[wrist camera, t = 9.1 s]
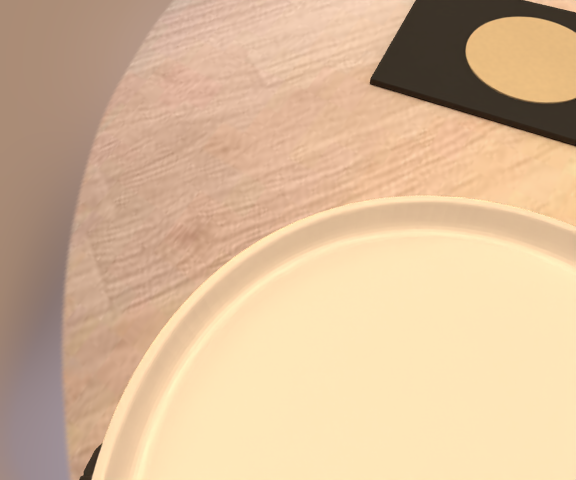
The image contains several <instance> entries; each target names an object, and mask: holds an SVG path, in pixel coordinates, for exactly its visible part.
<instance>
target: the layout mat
mask: <svg viewBox="0 0 576 480" xmlns="http://www.w3.org/2000/svg"><path fill="white" fill-rule="evenodd" d="M370 84H373V85H377V86H380V87H383V88H387V89H390V90H393V91H397V92H400V93H403V94H407V95H410V96H413V97H417V98H420V99H423V100H426V101H430V102H433V103H436V104H440V105H443V106H446V107H450V108H453V109H456V110H460V111H463V112H466V113H470V114H473V115H476V116H480V117H483V118H486V119H490V120H493V121H496V122H499V123H503V124H506V125H509V126H513V127H516V128H519V129H523V130H526V131H529V132H533V133H536V134H539V135H543V136H546V137H549V138H553V139H556V140H559V141H562V142H566V143H569V144H572V145H576V13H575V12H571V11H567V10H563V9H559V8H554V7H550V6H546V5H542V4H537V3H533V2H529V1H525V0H416V1H415V2H414V4H413V6H412V8H411V9H410V11H409V13H408V15H407V16H406V18H405V20H404V22H403V23H402V25H401V27H400V29H399V30H398V32H397V34H396V35H395V37H394V39H393V41H392V42H391V44H390V46H389V48H388V49H387V51H386V53H385V55H384V56H383V58H382V60H381V61H380V63H379V65H378V67H377V68H376V70H375V72H374V74H373V75H372V77H371V80H370Z"/></svg>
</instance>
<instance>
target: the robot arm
mask: <svg viewBox="0 0 576 480" xmlns="http://www.w3.org/2000/svg"><path fill="white" fill-rule="evenodd" d="M102 444H103V443H102ZM102 444H101V445H100V446H99V447H98V448H97V449H96V450H95V451H94V453H93V455H92V457H91V459H90V461H89V463H88V464H87V466H86V468H85V470H84V475H83V476H81V478H80V479H79V480H92V476H93V473H94V469H95V466H96V462H97V459H98V456H99V453H100V450H101V447H102Z"/></svg>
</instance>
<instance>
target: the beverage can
mask: <svg viewBox="0 0 576 480" xmlns="http://www.w3.org/2000/svg"><path fill="white" fill-rule="evenodd" d="M92 480H576V226H573V225H570V224H568V223H565V222H563V221H560V220H557V219H554V218H551V217H549V216H546V215H542V214H539V213H536V212H533V211H529V210H525V209H522V208H518V207H514V206H510V205H505V204H501V203H496V202H491V201H485V200H478V199H471V198H463V197H451V196H399V197H388V198H380V199H373V200H367V201H361V202H357V203H352V204H348V205H344V206H339V207H336V208H333V209H329V210H326V211H323V212H320V213H317V214H314V215H311V216H309V217H306V218H304V219H301V220H299V221H296V222H294V223H292V224H290V225H287V226H285V227H283V228H281V229H279V230H277V231H275V232H273V233H272V234H270V235H268V236H266V237H264V238H263V239H261V240H259V241H258V242H256V243H254V244H253V245H251V246H250V247H248V248H247V249H245V250H244V251H242V252H241V253H239V254H238V255H237V256H235V257H234V258H232V259H231V260H230V261H228V262H227V263H226V264H225V265H223V266H222V267H221V268H220V269H219V270H217V271H216V272H215V273H214V274H213V275H212V276H210V277H209V278H208V279H207V280H206V281H205V282H204V283H203V284H202V285H201V286H200V287H199V288H198V289H197V290H196V291H195V292H194V293H193V294H192V295H191V296H190V297H189V298H188V299H187V300H186V301H185V302H184V303H183V304H182V306H181V307H180V308H179V309H178V310H177V311H176V312H175V314H174V315H173V316H172V317H171V319H170V320H169V321H168V322H167V324H166V325H165V326H164V327H163V329H162V330H161V332H160V333H159V334H158V336H157V337H156V339H155V340H154V341H153V343H152V344H151V346H150V347H149V349H148V351H147V352H146V354H145V355H144V357H143V358H142V360H141V362H140V363H139V365H138V367H137V368H136V370H135V372H134V374H133V376H132V378H131V379H130V381H129V383H128V385H127V387H126V389H125V391H124V393H123V395H122V397H121V399H120V401H119V404H118V406H117V408H116V411H115V413H114V415H113V417H112V420H111V422H110V425H109V428H108V430H107V433H106V435H105V438H104V441H103V444H102V447H101V450H100V453H99V456H98V459H97V462H96V466H95V469H94V473H93V476H92Z"/></svg>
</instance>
